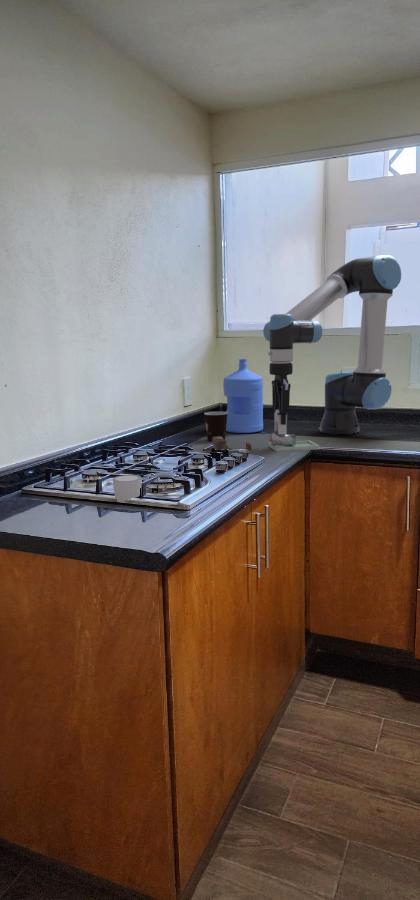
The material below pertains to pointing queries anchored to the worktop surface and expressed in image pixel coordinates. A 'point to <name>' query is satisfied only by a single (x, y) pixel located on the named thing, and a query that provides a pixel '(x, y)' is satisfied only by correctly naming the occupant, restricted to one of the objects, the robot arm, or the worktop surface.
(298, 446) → the pale green tray
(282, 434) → the cell
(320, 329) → the robot arm
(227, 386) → the water jug
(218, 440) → the brown wooden stand
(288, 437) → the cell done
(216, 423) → the coffee mug
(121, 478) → the light grey cup
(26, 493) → the worktop surface
